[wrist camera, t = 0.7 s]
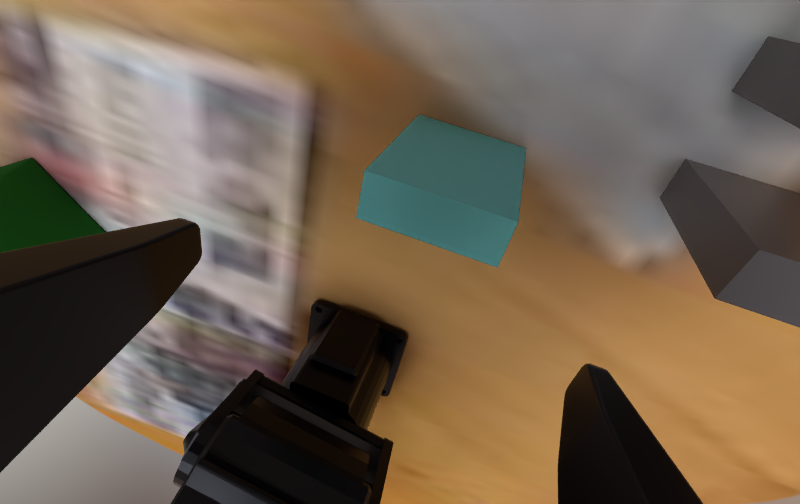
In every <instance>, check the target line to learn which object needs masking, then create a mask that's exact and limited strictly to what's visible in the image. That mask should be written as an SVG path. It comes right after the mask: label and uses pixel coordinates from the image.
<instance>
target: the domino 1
mask: <svg viewBox="0 0 800 504" xmlns="http://www.w3.org/2000/svg"><path fill="white" fill-rule="evenodd" d="M525 155H526V148H524V147H521V146H518V145H515V144H511V143H508V142H505V141H502V140H499V139H496V138H492V137H489V136H486V135H483V134H480V133H477V132H473V131H470V130H467V129H464V128H461V127H457V126H454V125H451V124H448V123H445V122H442V121H438V120H435V119H432V118H429V117H426V116H423V115H418V116H417V117H416V118H415V119H414V120H413V121H412V122H411V123H410V124H409V125H408V126H407V127H406V128H405V129H404V130H403V131H402V132H401V133H400V134H399V136H398V137H397V138H396V139H395V140H394V141H393V142H392V143H391V144H390V145H389V146H388V147H387V148H386V149H385V150H384V151H383V152H382V153H381V154H380V155H379V156H378V157H377V158H376V159H375V160H374V161H373V162H372V163H371V164H370V165H369V166H368V167H367V168H366V169H365V171H364V177H363V182H362V188H361V194H360V199H359V205H358V211H357V216H356V218H358V219H361V220H363V221H366V222H369V223H372V224H375V225H378V226H380V227H383V228H386V229H389V230H392V231H395V232H398V233H400V234H403V235H406V236H409V237H412V238H415V239H417V240H420V241H423V242H426V243H429V244H432V245H435V246H437V247H440V248H443V249H446V250H449V251H452V252H454V253H457V254H460V255H463V256H466V257H469V258H472V259H474V260H477V261H480V262H483V263H486V264H489V265H491V266H494V267H497V268H498V265H499V263H500V261H501V259H502V257H503V254H504V252H505V250H506V248H507V246H508V244H509V241H510V239H511V237H512V235H513V233H514V231H515V228H516V226H517V224H518V221H519V211H520V202H521V192H522V183H523V174H524V164H525Z"/></svg>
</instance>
